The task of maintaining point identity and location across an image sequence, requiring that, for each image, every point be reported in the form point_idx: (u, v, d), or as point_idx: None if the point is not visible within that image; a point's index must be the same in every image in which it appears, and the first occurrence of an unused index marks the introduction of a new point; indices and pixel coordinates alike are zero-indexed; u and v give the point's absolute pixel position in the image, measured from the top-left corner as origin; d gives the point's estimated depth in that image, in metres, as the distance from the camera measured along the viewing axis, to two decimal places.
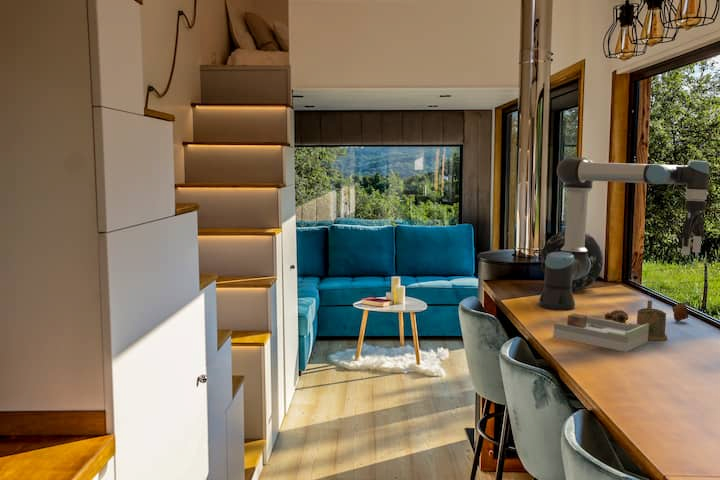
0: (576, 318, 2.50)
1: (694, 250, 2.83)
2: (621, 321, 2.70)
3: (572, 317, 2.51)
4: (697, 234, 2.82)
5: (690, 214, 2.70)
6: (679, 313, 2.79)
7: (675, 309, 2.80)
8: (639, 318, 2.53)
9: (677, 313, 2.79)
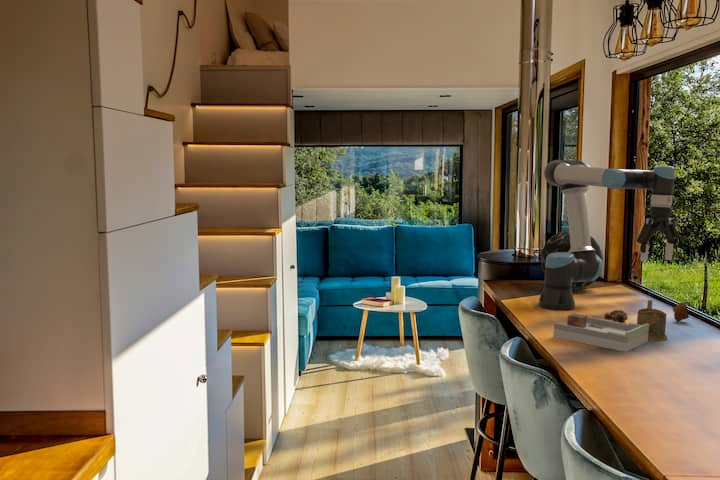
0: (576, 318, 2.50)
1: (666, 258, 2.75)
2: (620, 321, 2.70)
3: (572, 317, 2.51)
4: (670, 241, 2.74)
5: (648, 220, 2.66)
6: (679, 313, 2.79)
7: (675, 309, 2.80)
8: (639, 318, 2.52)
9: (677, 313, 2.79)
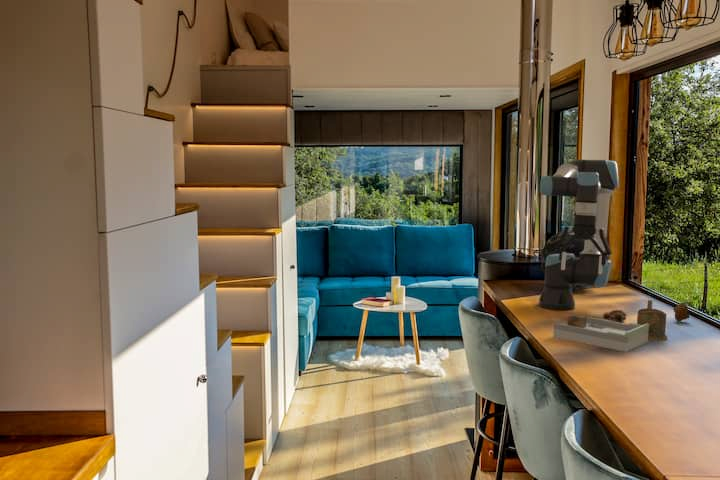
0: (576, 318, 2.50)
1: None
2: (618, 321, 2.71)
3: (572, 317, 2.51)
4: None
5: None
6: (680, 313, 2.79)
7: (676, 309, 2.79)
8: (639, 318, 2.52)
9: (678, 313, 2.79)
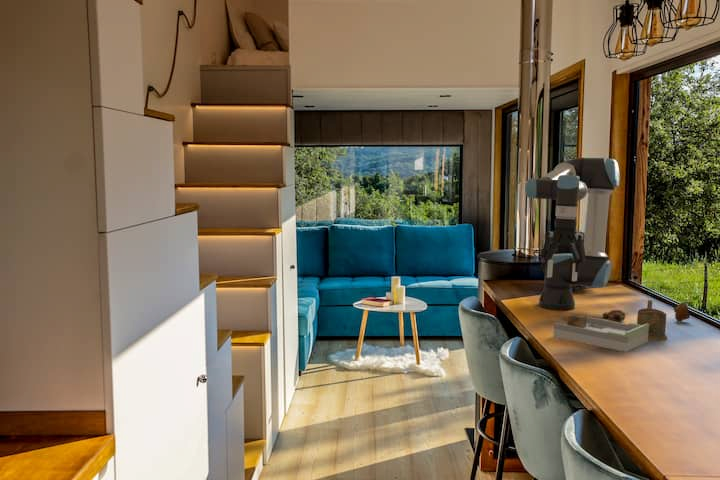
0: (576, 318, 2.50)
1: None
2: (617, 321, 2.71)
3: (572, 317, 2.51)
4: None
5: None
6: (680, 313, 2.79)
7: (677, 309, 2.79)
8: (639, 318, 2.52)
9: (678, 313, 2.79)
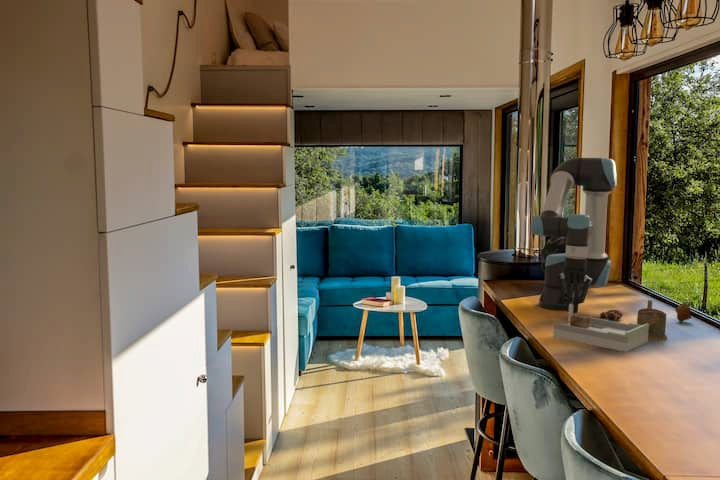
0: (579, 319, 2.49)
1: None
2: (611, 320, 2.71)
3: (575, 318, 2.50)
4: None
5: None
6: (682, 313, 2.79)
7: (678, 309, 2.79)
8: (639, 318, 2.52)
9: (680, 313, 2.79)
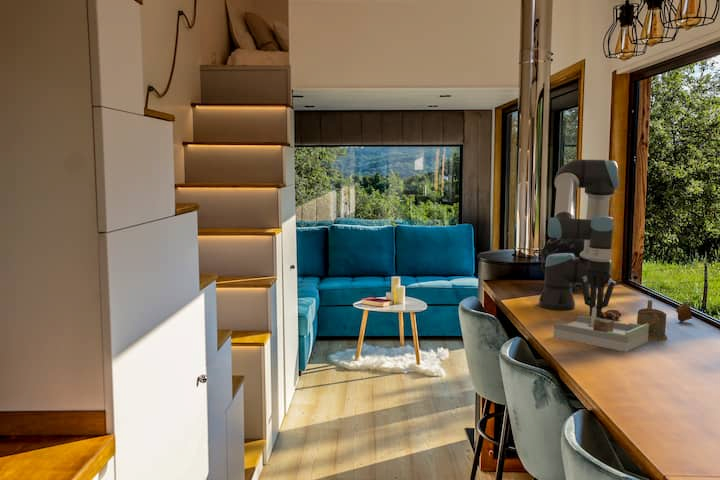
0: (603, 323, 2.44)
1: None
2: None
3: (598, 322, 2.45)
4: None
5: None
6: (683, 313, 2.79)
7: (679, 310, 2.79)
8: (639, 318, 2.52)
9: (681, 313, 2.79)
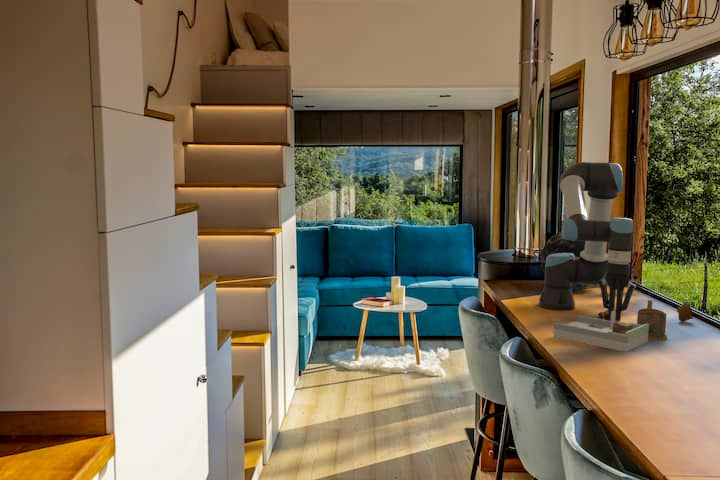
0: (622, 327, 2.39)
1: None
2: (607, 320, 2.72)
3: (617, 326, 2.40)
4: None
5: None
6: (684, 313, 2.78)
7: (680, 310, 2.79)
8: (639, 319, 2.52)
9: (681, 313, 2.79)
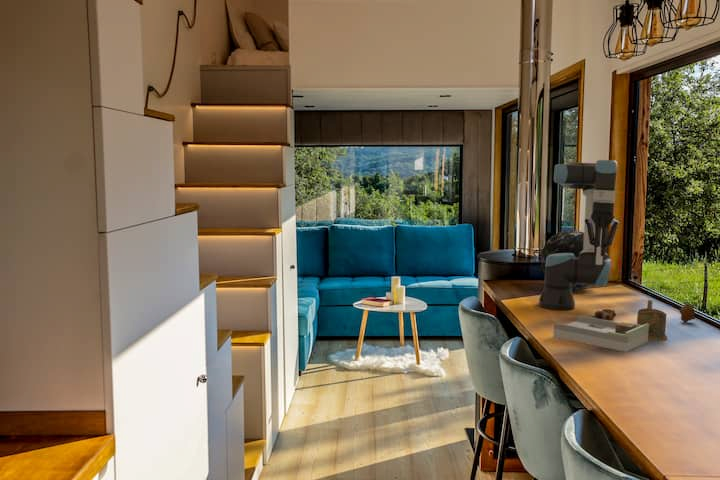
0: (625, 327, 2.38)
1: None
2: (599, 318, 2.73)
3: (620, 326, 2.39)
4: None
5: None
6: (686, 314, 2.78)
7: (682, 310, 2.78)
8: (639, 319, 2.52)
9: (684, 313, 2.78)
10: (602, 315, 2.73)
